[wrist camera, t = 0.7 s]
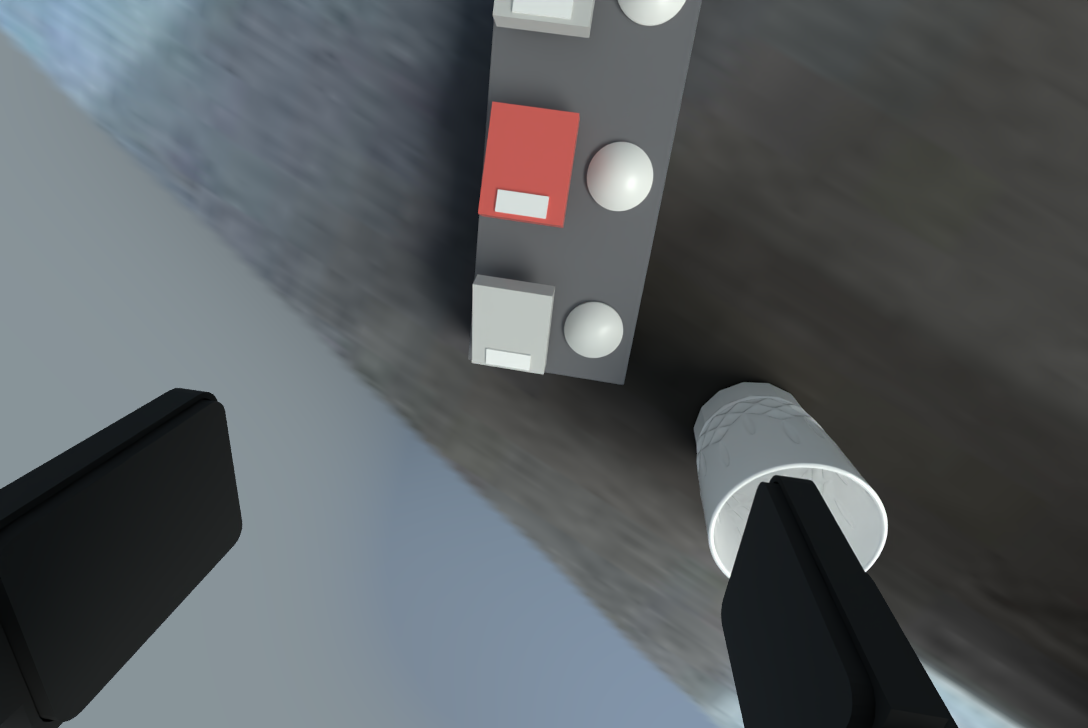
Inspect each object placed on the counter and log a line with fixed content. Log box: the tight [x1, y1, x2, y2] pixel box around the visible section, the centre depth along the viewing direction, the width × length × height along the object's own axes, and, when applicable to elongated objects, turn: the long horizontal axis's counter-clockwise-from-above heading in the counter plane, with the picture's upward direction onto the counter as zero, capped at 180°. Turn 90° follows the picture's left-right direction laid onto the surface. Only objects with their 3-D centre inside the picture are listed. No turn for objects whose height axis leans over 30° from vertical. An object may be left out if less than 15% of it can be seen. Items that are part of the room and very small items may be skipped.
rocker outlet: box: [472, 274, 555, 375], centre depth 29 cm, size 5×4×1 cm
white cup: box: [694, 382, 888, 579], centre depth 30 cm, size 8×8×10 cm
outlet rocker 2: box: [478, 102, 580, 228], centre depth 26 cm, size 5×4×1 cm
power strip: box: [468, 0, 702, 385], centre depth 27 cm, size 26×9×4 cm, turn 173°
